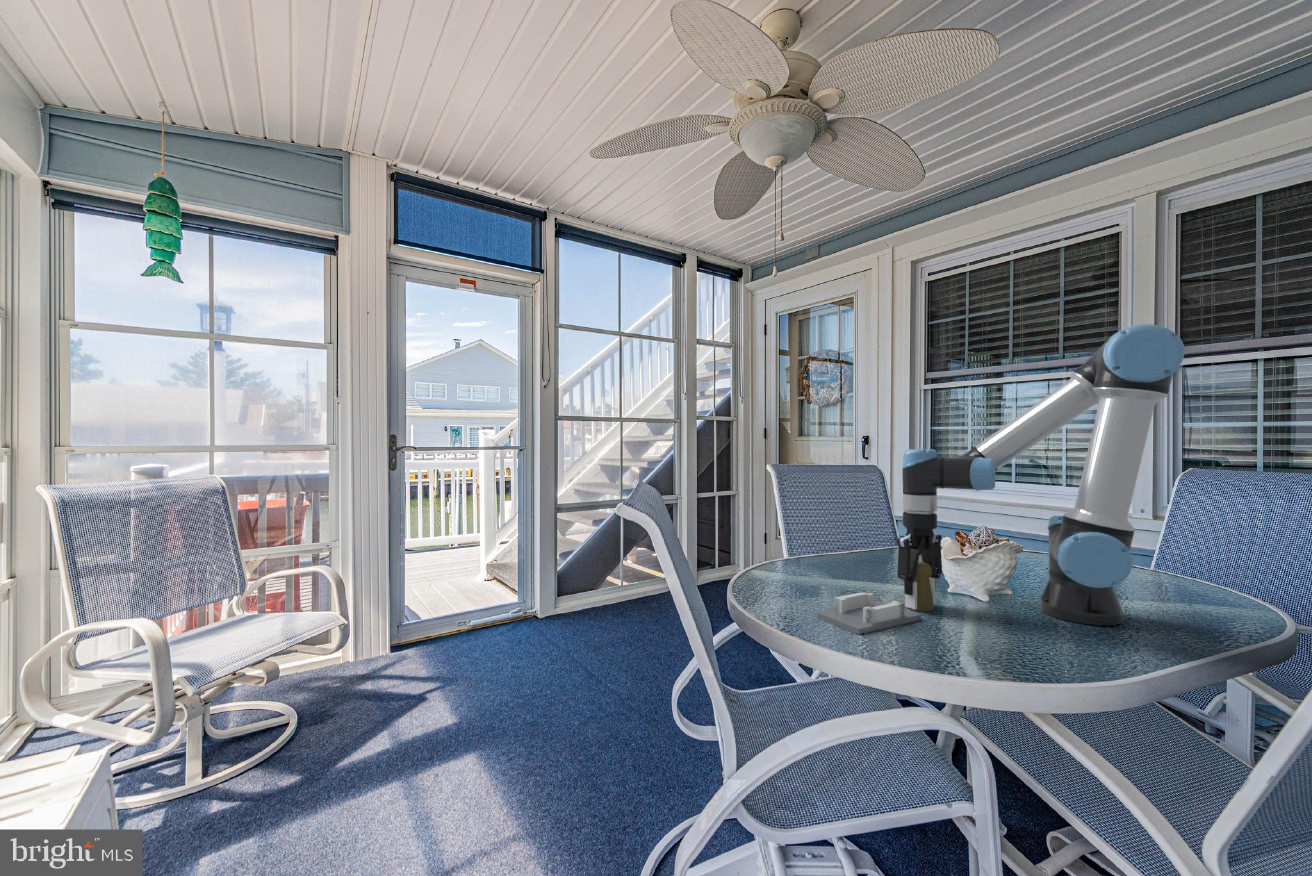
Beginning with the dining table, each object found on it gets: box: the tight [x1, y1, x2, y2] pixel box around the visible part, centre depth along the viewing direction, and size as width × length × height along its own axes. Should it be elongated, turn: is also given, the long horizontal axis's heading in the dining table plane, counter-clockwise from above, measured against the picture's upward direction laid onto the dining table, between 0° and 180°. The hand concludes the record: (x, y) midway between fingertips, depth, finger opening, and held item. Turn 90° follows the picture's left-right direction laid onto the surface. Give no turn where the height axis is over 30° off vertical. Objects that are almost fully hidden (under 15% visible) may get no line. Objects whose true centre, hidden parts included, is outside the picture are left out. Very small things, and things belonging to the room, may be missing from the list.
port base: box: [816, 591, 922, 636], centre depth 119 cm, size 12×20×4 cm, turn 117°
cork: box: [909, 561, 935, 612], centre depth 128 cm, size 6×6×11 cm
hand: (920, 605), depth 127 cm, fingers closed on cork, 6 cm apart
